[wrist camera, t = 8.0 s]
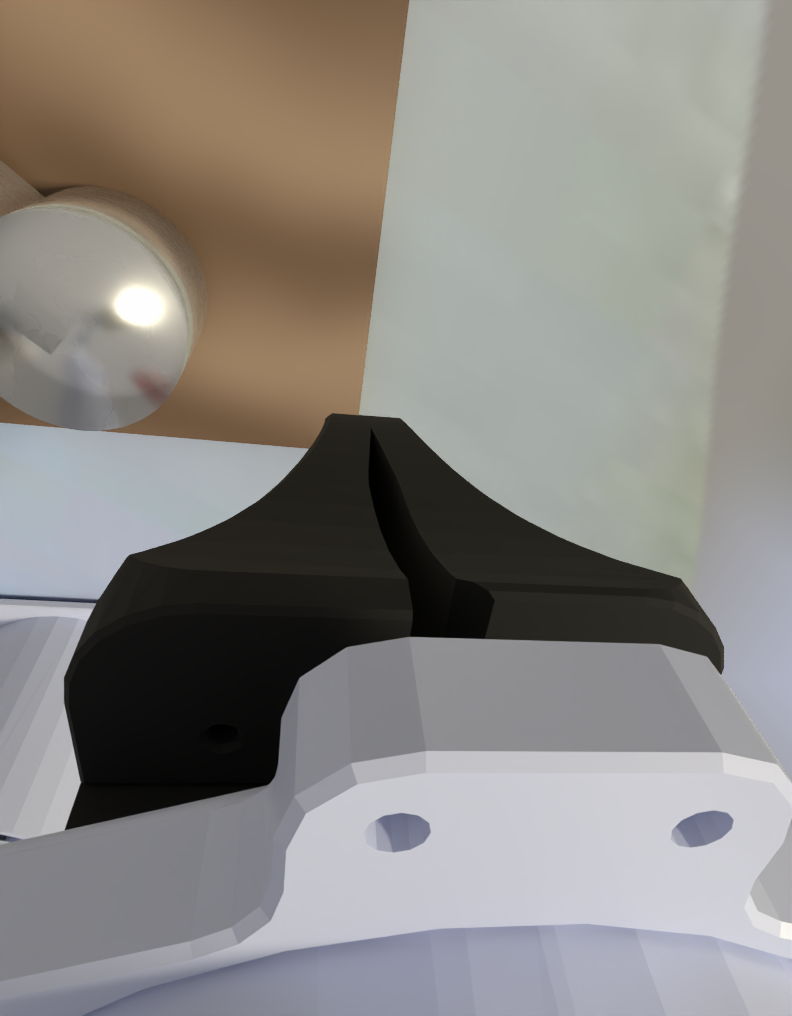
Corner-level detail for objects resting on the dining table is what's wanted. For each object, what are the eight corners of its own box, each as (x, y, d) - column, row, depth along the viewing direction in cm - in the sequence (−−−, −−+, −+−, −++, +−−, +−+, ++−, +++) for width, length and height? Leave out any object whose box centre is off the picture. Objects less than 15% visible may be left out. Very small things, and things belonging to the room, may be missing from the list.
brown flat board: (353, 440, 22) (354, 455, 21) (-258, 388, 20) (-285, 401, 19) (420, -120, 15) (425, -132, 14) (-551, -329, 12) (-615, -358, 11)
